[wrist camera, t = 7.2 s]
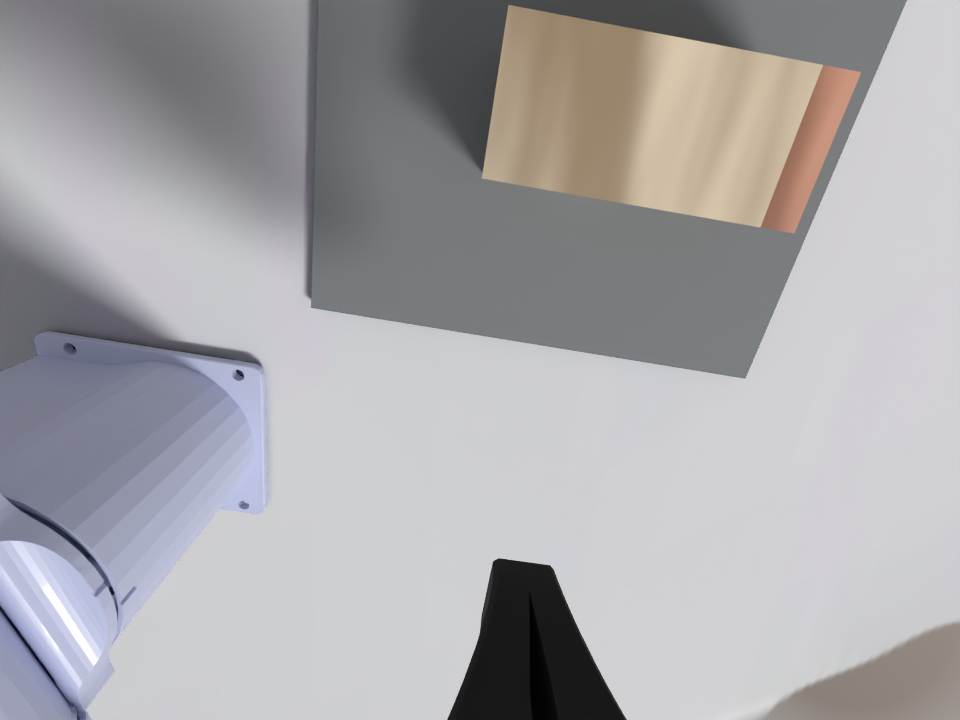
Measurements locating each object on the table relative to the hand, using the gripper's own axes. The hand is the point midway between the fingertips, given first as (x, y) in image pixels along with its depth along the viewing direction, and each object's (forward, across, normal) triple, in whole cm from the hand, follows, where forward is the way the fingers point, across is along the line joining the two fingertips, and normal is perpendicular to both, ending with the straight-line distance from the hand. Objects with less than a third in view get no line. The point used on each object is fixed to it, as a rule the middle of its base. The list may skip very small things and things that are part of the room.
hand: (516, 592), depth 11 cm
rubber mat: (+10, -1, -10) cm, 14 cm away
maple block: (+8, +2, -11) cm, 13 cm away
